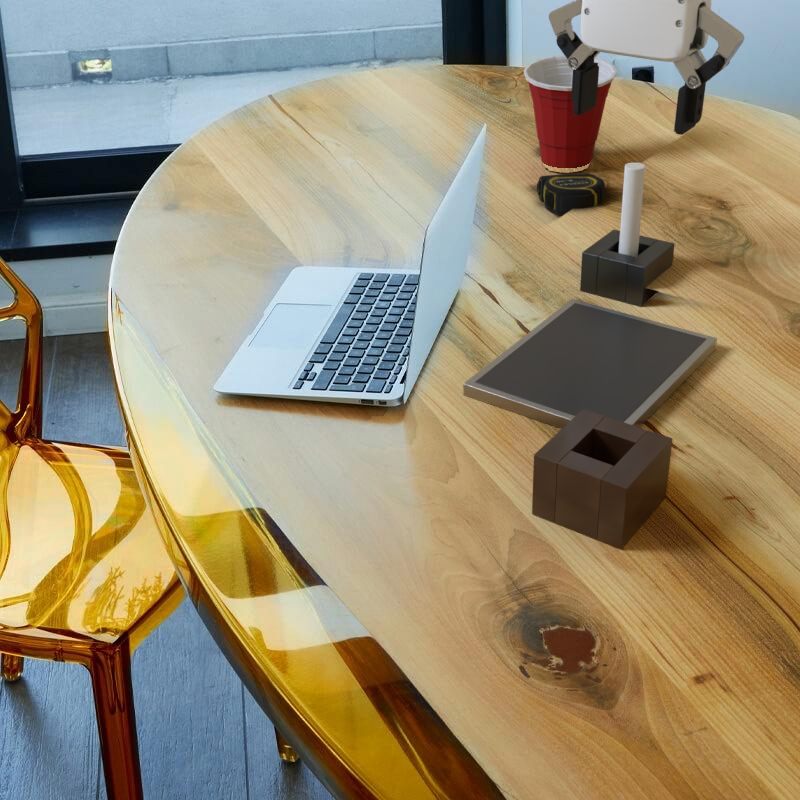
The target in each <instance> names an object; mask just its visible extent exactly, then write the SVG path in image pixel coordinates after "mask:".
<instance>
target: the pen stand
mask: <svg viewBox="0 0 800 800" xmlns="http://www.w3.org/2000/svg"><path fill="white" fill-rule="evenodd" d="M673 440H674V439H673V437H670V436H667V435H664V434H661V433H658V432H654V431H652V430H648V429H646V428H642V427H640V428H639V427H636V426H633V425H630V424H627V423H624V422H621V421H618V420H615V419H612V418H609V417H605V416H603V415H600V414H597V413H594V412H591V411H588V410H585V409H582V410H581V411H580V412H579V413H578V414H577V415H576V416H575V417H574V418H573V419H572V420H571V421H570V422H569V423H567V424H566V425H565V426H564V427H563V428H562V429H561V428H560V430H558V431H557V432H556V433H555V434H554V435H553V436H552V437H551V438H550V439H549V440H548V441H547V442H545V444H544V445H542V446H541V448H539V449H538V450H537V451H536V452H535V453H534V454H533V470H532V497H531V498H532V502H531V507H532V508H531V514H532V515H534V516H536V517H538V518H541V519H544V520H545V521H548V522H551V523H554V524H556V525H558V526H561V527H563V528H566V529H569V530H571V531H573V532H576V533H578V534H581V535H584V536H586V537H589V538H590V539H594V540H597V541H599V542H601V543H603V544H607V545H609V546H611V547H614V548H617V549H619V550H623V548H625V546H626V545H627V544H628V543H629V542H630V540H631V539H632V538H633V537H634V536H635V534H636V533H637V532H638V531H639V529H640V528H641V527H642V526H643V525H644V524H645V523H646V522H647V520H648V519H649V518H650V517H651V516H652V514H653V513H654V512H655V511H656V510H657V509H658V508H659V506H660V505H661V504H662V503H663V502H664V500H665V499H666V498H667V493H668V492H667V491H668V481H669V474H670V465H671V457H672V448H673Z"/></svg>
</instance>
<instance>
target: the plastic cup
mask: <svg viewBox="0 0 800 800" xmlns="http://www.w3.org/2000/svg"><path fill="white" fill-rule="evenodd" d="M567 61H568V59H567V58H566V56H565V55H554V56H548V57H544V58H539V59H537V60H535V61H533V62H531V63H529V64H527V66H526V67H524V69H523V75H524V78H525V80H526V82H527V83H528V87H529V91H530V96H531V99H532V107H533V113H534V121H535V122H534V123H535V128H536V129H535V130H536V135H537V140H538V144H539V152H540V154H539V155H540V160H541V163H542V162H543V163H544V164H546V165H548V166H552V167H557V168H577V167H582V166H585V165H587V164H589V163H590V164H591V163H592V161H591V160H593V155H594V151H595V146H596V142H597V140H598V136H599V132H600V128H601V122H602V119H603V114H604V110H605V106H606V102H607V98H608V95H609V91H610V88H611V84H612V82H613V81H614V79H615V78H616V76H617V73H618V69H617V68H616V66H615V64H613V63H611V62H609V61H608V60H606V59H602V58H599V57H595V58H594V62H595V63H598V66H599V76H598V90H597V104H596V107H595V108H593V109H591V110H589V111H588V112H586V113H584V114H582V115H580V116H579V115H574V114H573V108H574V102H573V101H572V99H571V94H572V78H573V69H571V68H570V67H569V66H568V62H567ZM543 163H542V164H543Z"/></svg>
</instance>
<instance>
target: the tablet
mask: <svg viewBox="0 0 800 800" xmlns="http://www.w3.org/2000/svg"><path fill="white" fill-rule="evenodd" d="M717 342H718V338H717V337H715V336H711V335H707V334H703V333H701V332H696V331H692V330H688V329H685V328H681V327H678V326H674V325H670V324H667V323H663V322H659V321H655V320H652V319H649V318H643V317H641V316H638V315H634V314H630V313H626V312H622V311H619V310H614V309H610V308H607V307H603V306H600V305H596V304H593V303H590V302H585V301H581V300H578V299H574V298H571V299H569V301H568V302H566V303H564V305H562V306H561V307H560V308H558V309H557V310H555V312H553V313H552V314H551V315H549V316H548V317H547V318H546V319H544V320H543V321H542V322H541V323H539V324H538V325H537V326H535V327H534V328H533V329H532V330H529V332H528V333H526V334H525V335H524V336H522V337H521V338H520V339H518V340H517V341H516V342H515V343H514V344H512V345H511V346H510V347H509V348H507V349H506V350H505V351H503V352H502V353H500V355H498V356H497V357H496V358H495V359H493V360H492V361H491V362H489V363H488V364H486V365H485V366H484V367H483V368H481V370H478V372H476V373H475V374H474V375H473V376H471V377H470V378H468V380H466V381H465V382H464V383H463V390H462V391H463V392H462V393H463V396H465V397H468V398H471V399H474V400H477V401H480V402H483V403H486V404H488V405H492V406H494V407H497V408H499V409H503V410H506V411H508V412H511V413H515V414H517V415H520V416H523V417H526V418H529V419H532V420H536V421H538V422H540V423H543V424H547V425H549V426H552V427H555V428H558V429H560V430H561V429H562V428H563V427H564V426H565V425H566V424H567V423H569V422H570V421H571V420H572V419H573V418H574V417H575V416H576V415H577V414H578V413H579V412H580V411H581V410H582V409H585V410H588V411H591V412H594V413H597V414H600V415H603V416H605V417H609V418H612V419H615V420H618V421H621V422H624V423H627V424H630V425H633V426H636V427H639V428H642V426H643V425H644V424H646V422H647V421H648V420H649V419H650V418H651V417H652V415H653V414H655V413H656V412H657V410H658V409H659V408H660V407H661V406H662V405H663V404H665V402H667V400H668V399H669V398H670V397H671V396H672V395H673V394H674V393H675V392H676V391H677V390H678V389H679V388H680V387H681V386H682V385H683V383H684V382H686V380H688V379H689V378H690V376H691V375H693V373H694V372H695V371H697V369H698V368H699V367H700V366H701V365H702V364H703V363H704V362H705V361H706V360H707V359H708V358H709V357H710V356H711V355H712V354H713V352H715V351H716V349H717V344H718V343H717Z"/></svg>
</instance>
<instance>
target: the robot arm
mask: <svg viewBox="0 0 800 800" xmlns="http://www.w3.org/2000/svg"><path fill="white" fill-rule="evenodd" d="M577 16H580V25H579V27H580V28H579V30H580V31H579V32H580V33H579V34H580V37H579V36H578V34H577V33H576V32H575V31H574V30H573V23H572V20H573V19H574V18H575V17H577ZM548 20H549V23H550V25H551V28H552V31H553V33H554V35H555V36H556V45H557V47H558V48H559V50H560V51H561V53H562V54H563V56H566V58H567V59H568V61H567V62H568V66H569V67H570V68H571V69H573V78H572V94H571V99H572V101H573V102H574V108H573V114H574V115H579V116H580V115H582V114H584V113H586V112H588V111H589V110H591V109H593V108H595V107H596V104H597V90H598V76H599V66H598V63H595V62H594V58H597V56H599V54H600V53H605V54H611V55H619V56H623V57H631V58H637V59H642V60H643V59H644V60H650V61H656V62H657V61H658V62H665V63H666V62H667V63H673V64H674V66H675V68H676V70H677V72H678V73H679V75H680V77H681V78H682V80H683V81H684V84H683V85H682V86H680V87H679V89H678V92H677V101H676V110H675V118H674V127H673V132H674V133H675V134H676V135H681V136H682V135H684V134H686V133H687V132H689V131H691V130H692V129H693V128H695V127H696V125H697V124H698V123H699V122H700V121H701V119H702V116H703V111H704V102H705V101H704V100H705V92H706V84H707V82H709V81H710V80H711V79H712V78H713V77H715V76H716V75H717V74H719V73H720V72H721V71H722V70H724V69H725V68H726V67H727V66H729V64H730V63H731V60H732V58H733V57H735V55H736V53H737V52H738V50H739V49H740V47H741V46H742V44H743V43H744V41H745V36H744V33H742V31H740V30H739V29H738V28H736V27H735V26H733V24H730V23H729V22H728V21H727V20H725V19H724V18H723V17H721V16H720V15H718V13H715V12H714V11H713V10H712V0H573V1H571V2H568V3H566V4H565V5H563V6H560V7H557V8H556V9H553V10H552V11H550V12H549V14H548ZM709 36H710V37H712V39H714V40H715V41H716V42H717V49H716V50H715V53H714V54H713V55H712V56H711V58H709V59H708V60H707V59H706V58H705V55H704V53H703V52H702V49H704V48H705V47H706V45H707V43H708V40H709Z"/></svg>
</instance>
